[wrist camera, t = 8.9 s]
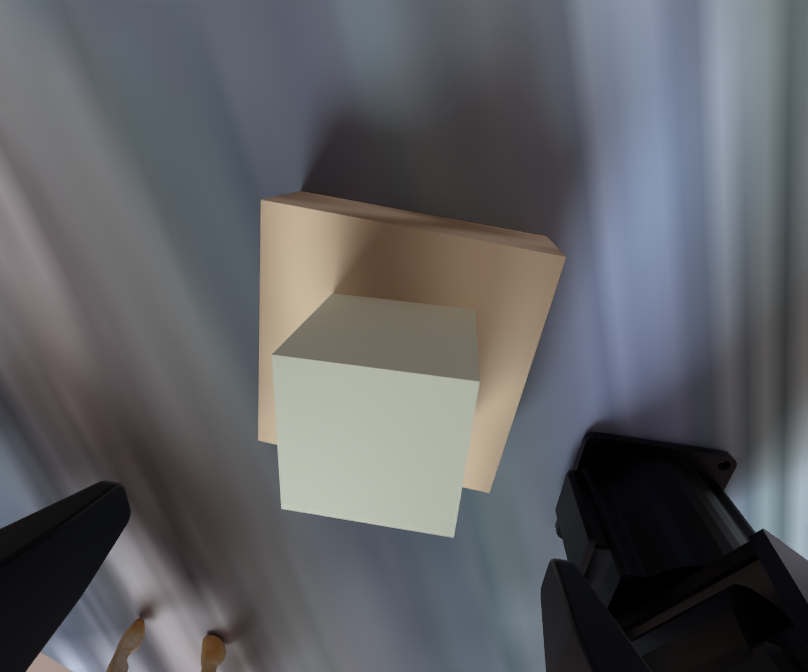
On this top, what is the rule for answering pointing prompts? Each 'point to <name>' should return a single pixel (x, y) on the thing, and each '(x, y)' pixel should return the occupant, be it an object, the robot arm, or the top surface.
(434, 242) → the maple block
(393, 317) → the sage cube
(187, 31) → the top surface
